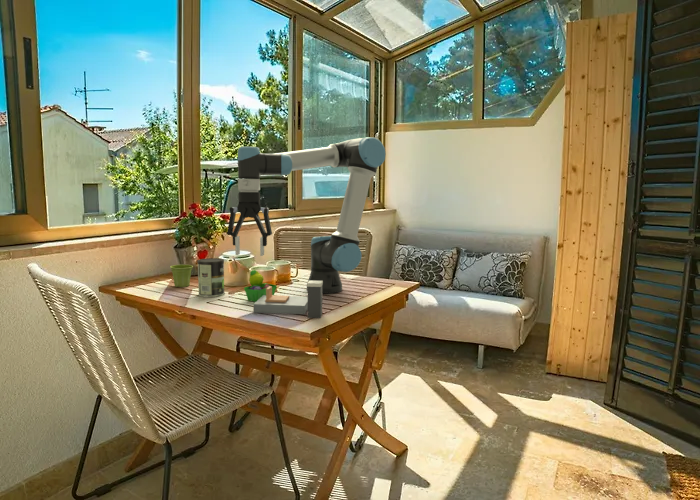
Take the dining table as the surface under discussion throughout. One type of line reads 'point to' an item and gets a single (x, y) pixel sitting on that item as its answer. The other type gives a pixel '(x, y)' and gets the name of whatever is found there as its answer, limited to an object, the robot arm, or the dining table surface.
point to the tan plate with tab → (274, 296)
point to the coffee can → (211, 277)
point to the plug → (314, 299)
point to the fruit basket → (257, 287)
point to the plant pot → (181, 275)
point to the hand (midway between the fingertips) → (249, 254)
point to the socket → (282, 305)
